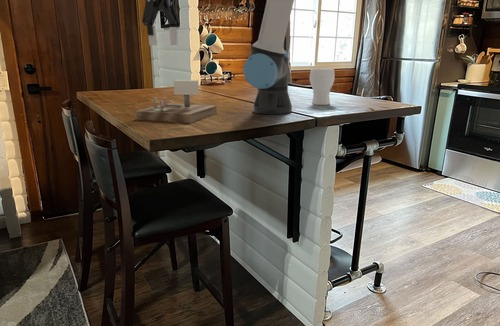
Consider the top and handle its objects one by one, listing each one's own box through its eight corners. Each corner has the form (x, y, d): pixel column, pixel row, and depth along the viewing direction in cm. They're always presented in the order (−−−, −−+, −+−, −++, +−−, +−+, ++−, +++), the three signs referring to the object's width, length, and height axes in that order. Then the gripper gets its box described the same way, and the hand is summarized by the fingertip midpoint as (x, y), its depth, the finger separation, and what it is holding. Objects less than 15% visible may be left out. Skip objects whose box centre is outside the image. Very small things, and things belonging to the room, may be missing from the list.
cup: (333, 105, 163) (335, 69, 159) (308, 105, 165) (309, 69, 161) (333, 102, 173) (335, 68, 169) (309, 101, 175) (310, 68, 171)
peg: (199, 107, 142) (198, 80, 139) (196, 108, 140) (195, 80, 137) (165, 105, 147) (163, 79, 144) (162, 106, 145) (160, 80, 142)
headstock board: (216, 113, 148) (215, 95, 146) (190, 123, 130) (189, 102, 128) (167, 110, 155) (166, 93, 153) (136, 119, 137) (134, 99, 135)
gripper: (169, -13, 148) (174, 45, 154) (126, -22, 126) (134, 45, 132) (186, -15, 145) (190, 44, 151) (145, -25, 123) (152, 45, 129)
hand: (164, 45), depth 142 cm, fingers open, 13 cm apart
